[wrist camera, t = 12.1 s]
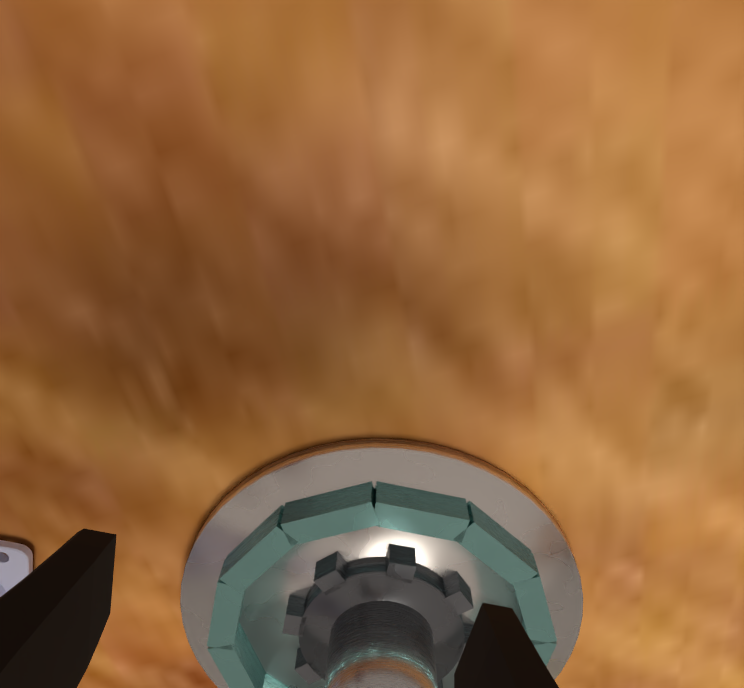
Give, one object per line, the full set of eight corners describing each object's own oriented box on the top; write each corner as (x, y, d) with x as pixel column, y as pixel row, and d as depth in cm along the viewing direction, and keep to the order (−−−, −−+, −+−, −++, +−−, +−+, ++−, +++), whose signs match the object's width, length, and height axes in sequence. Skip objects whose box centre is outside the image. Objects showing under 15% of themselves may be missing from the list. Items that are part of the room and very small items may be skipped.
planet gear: (274, 670, 27) (248, 811, 22) (302, 528, 24) (280, 653, 19) (450, 697, 27) (465, 841, 22) (499, 562, 24) (530, 693, 19)
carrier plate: (168, 702, 29) (154, 745, 27) (211, 398, 22) (195, 428, 21) (507, 759, 30) (516, 804, 28) (639, 485, 24) (660, 520, 22)
